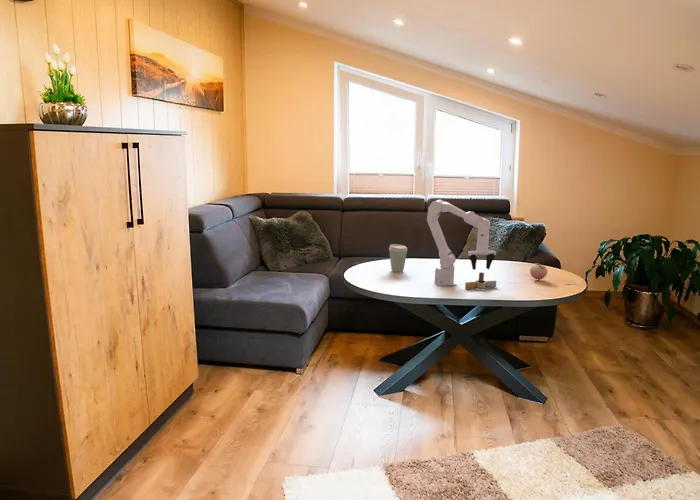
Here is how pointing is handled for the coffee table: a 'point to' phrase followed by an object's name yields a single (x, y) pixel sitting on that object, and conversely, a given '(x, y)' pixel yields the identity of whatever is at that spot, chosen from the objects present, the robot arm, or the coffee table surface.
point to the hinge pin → (481, 277)
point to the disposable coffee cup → (397, 257)
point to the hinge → (480, 285)
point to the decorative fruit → (538, 271)
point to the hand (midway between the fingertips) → (480, 269)
